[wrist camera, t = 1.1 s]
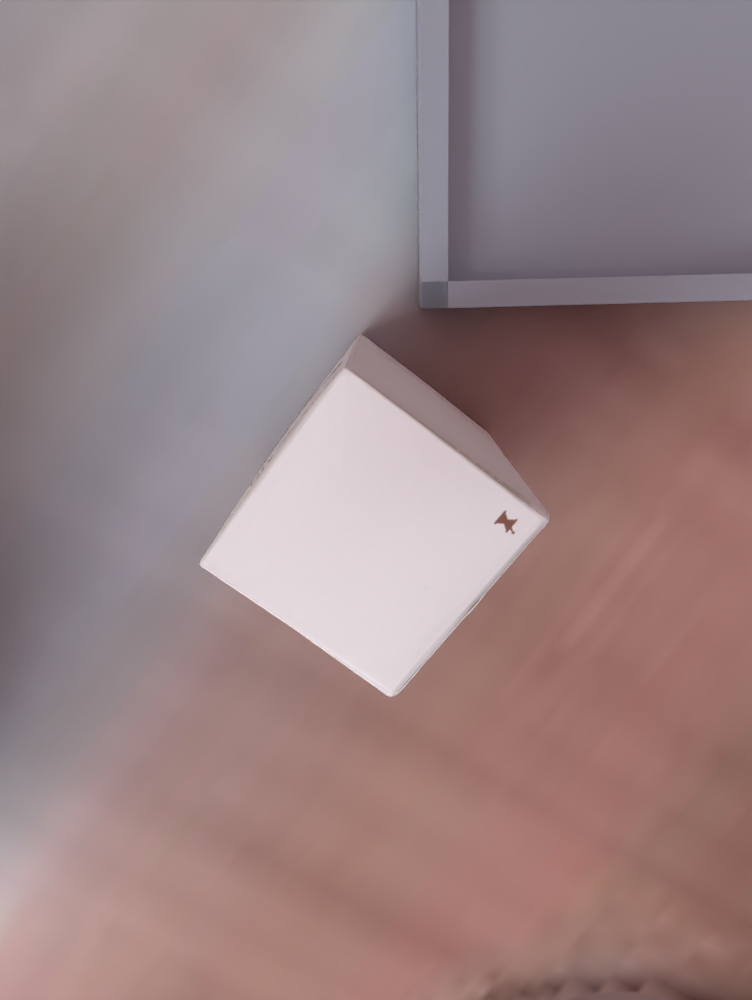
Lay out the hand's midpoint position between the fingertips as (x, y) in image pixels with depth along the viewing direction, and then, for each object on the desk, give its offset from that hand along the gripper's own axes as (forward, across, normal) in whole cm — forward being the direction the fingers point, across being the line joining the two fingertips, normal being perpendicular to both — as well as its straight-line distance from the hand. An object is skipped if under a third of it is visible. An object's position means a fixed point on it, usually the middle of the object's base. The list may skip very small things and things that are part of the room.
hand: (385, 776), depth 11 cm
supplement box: (+23, 0, 0) cm, 23 cm away
